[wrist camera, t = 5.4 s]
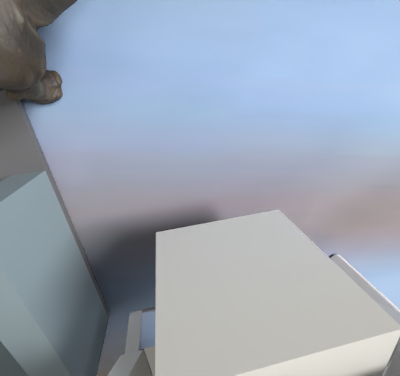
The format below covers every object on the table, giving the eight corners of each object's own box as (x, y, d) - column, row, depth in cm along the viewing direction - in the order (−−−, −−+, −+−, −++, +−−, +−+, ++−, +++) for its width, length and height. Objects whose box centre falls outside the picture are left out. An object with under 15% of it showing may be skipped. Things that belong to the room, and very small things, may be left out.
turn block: (273, 296, 13) (354, 436, 8) (175, 319, 12) (189, 493, 7) (278, 209, 11) (403, 328, 5) (155, 232, 10) (154, 397, 5)
